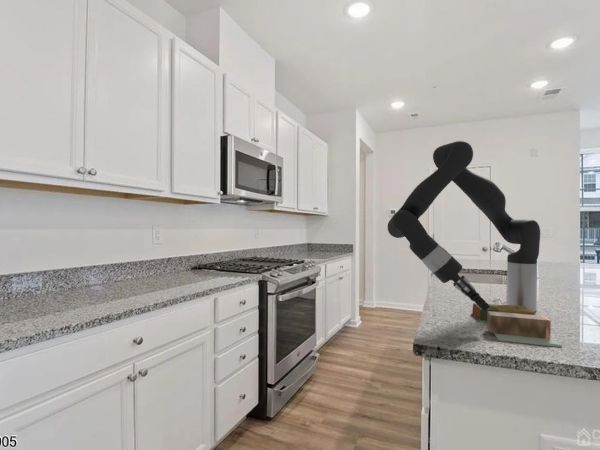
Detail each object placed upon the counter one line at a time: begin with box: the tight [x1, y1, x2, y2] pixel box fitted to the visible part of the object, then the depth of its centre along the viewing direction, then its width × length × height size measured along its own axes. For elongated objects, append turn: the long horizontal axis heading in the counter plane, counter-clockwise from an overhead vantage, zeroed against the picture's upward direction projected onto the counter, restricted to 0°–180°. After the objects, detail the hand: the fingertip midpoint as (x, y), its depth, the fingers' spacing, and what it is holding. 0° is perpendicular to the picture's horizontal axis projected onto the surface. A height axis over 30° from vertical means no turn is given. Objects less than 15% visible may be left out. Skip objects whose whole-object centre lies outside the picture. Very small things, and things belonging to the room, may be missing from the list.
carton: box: [471, 302, 536, 321], centre depth 111 cm, size 8×16×4 cm, turn 78°
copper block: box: [486, 311, 552, 339], centre depth 93 cm, size 5×5×14 cm
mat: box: [494, 334, 563, 348], centre depth 93 cm, size 14×13×1 cm
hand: (486, 308), depth 96 cm, fingers closed
